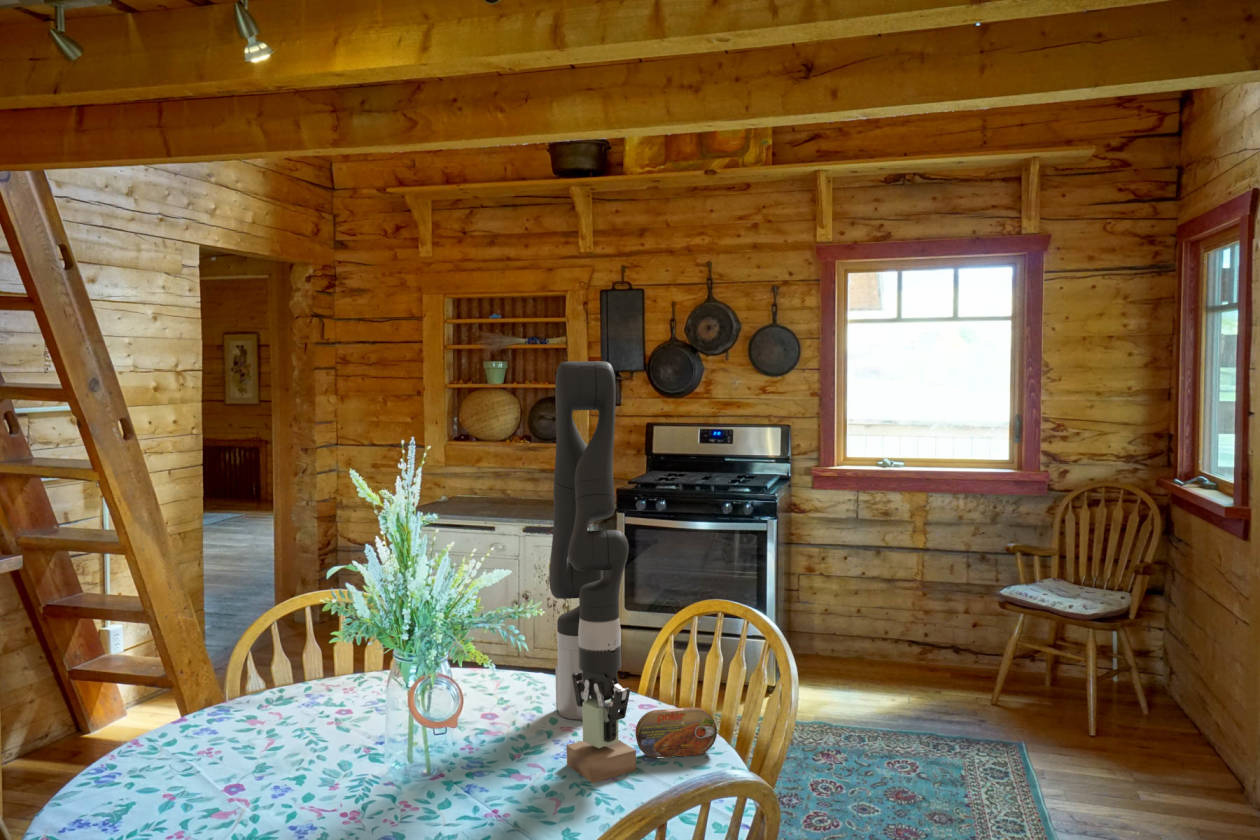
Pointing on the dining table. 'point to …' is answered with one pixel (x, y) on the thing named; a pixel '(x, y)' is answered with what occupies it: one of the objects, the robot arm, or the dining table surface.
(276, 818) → the dining table surface
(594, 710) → the sage block
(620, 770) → the walnut base
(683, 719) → the tin
